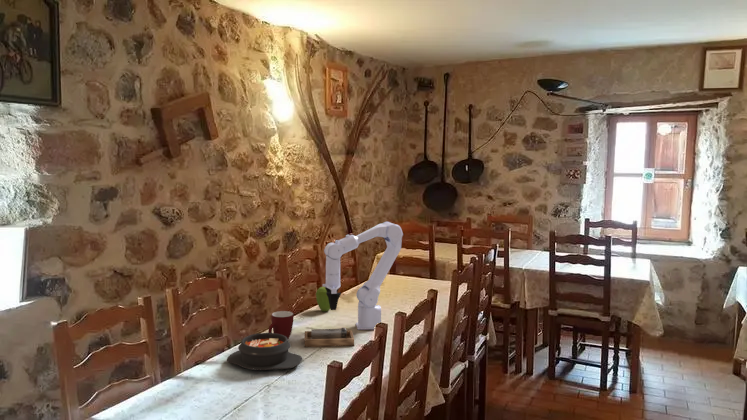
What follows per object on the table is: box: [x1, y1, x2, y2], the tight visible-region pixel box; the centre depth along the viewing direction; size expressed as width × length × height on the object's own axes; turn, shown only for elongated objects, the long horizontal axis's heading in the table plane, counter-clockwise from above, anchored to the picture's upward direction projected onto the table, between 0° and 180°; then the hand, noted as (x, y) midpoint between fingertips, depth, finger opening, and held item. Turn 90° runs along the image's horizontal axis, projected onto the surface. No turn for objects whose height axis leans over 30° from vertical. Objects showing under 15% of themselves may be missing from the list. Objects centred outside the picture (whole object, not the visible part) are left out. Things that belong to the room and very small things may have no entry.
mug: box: [267, 310, 294, 340], centre depth 199 cm, size 10×8×10 cm
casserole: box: [226, 332, 303, 371], centre depth 177 cm, size 25×19×8 cm
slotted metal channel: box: [310, 327, 347, 339], centre depth 199 cm, size 13×2×4 cm, turn 97°
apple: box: [315, 286, 331, 312], centre depth 239 cm, size 9×8×12 cm
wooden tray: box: [304, 329, 355, 348], centre depth 199 cm, size 18×10×3 cm, turn 97°
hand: (332, 307), depth 212 cm, fingers open, 7 cm apart
